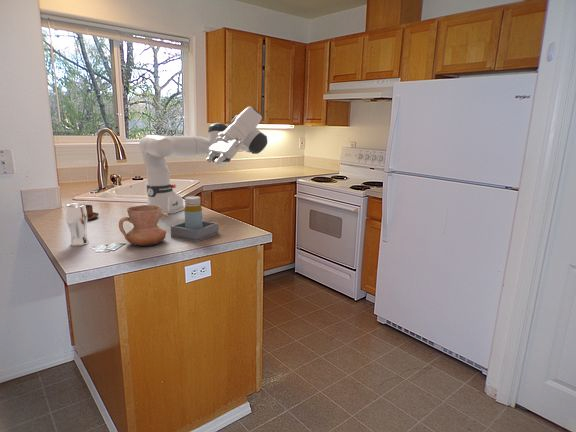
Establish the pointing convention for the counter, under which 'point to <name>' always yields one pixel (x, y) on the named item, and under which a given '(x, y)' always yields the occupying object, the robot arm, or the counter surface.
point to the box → (194, 231)
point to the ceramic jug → (144, 225)
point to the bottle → (193, 213)
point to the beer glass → (77, 223)
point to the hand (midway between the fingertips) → (211, 162)
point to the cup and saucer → (90, 212)
